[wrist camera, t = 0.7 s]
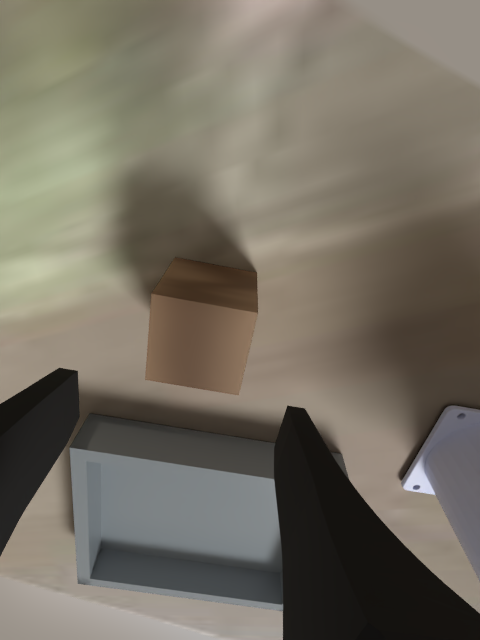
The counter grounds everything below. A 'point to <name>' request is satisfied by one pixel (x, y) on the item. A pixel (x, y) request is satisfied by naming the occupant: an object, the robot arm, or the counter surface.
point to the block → (201, 326)
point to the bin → (177, 512)
